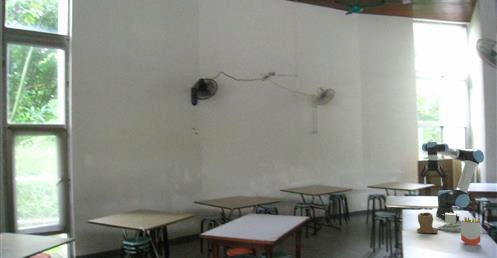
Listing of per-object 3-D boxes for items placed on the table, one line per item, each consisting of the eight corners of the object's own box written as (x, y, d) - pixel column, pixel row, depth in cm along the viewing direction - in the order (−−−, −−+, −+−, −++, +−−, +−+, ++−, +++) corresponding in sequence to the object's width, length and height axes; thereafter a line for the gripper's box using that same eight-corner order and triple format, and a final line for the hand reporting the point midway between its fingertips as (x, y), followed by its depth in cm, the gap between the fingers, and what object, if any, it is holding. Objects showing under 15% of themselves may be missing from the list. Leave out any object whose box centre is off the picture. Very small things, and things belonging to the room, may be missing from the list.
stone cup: (417, 234, 306) (417, 213, 306) (416, 230, 317) (415, 211, 317) (440, 235, 301) (439, 214, 301) (437, 231, 312) (437, 211, 313)
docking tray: (444, 226, 331) (444, 222, 331) (466, 228, 320) (466, 225, 320) (436, 229, 319) (436, 226, 319) (459, 232, 308) (458, 229, 308)
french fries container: (461, 242, 281) (460, 216, 281) (479, 243, 277) (478, 216, 277) (462, 244, 276) (461, 217, 277) (480, 245, 273) (479, 218, 273)
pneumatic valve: (459, 229, 315) (458, 213, 315) (442, 227, 320) (442, 212, 321) (459, 227, 319) (459, 212, 320) (442, 226, 325) (442, 211, 325)
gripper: (415, 159, 352) (416, 184, 352) (447, 160, 335) (447, 186, 335) (419, 159, 358) (419, 183, 357) (449, 159, 341) (450, 185, 341)
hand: (433, 185), depth 346 cm, fingers open, 13 cm apart
